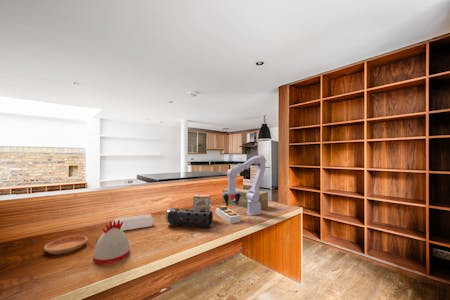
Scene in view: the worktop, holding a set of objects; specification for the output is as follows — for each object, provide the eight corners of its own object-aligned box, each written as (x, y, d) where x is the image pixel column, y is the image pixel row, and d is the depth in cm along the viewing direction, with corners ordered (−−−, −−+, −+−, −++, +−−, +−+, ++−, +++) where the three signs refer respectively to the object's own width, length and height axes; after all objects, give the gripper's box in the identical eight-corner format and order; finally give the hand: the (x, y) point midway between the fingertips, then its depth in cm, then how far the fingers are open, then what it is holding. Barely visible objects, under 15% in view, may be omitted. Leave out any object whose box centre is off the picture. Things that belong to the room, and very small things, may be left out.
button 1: (224, 209, 148) (224, 205, 148) (227, 210, 144) (227, 206, 144) (219, 210, 146) (219, 205, 146) (221, 211, 142) (221, 207, 142)
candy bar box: (192, 220, 132) (192, 196, 132) (194, 218, 137) (194, 194, 137) (209, 221, 131) (209, 196, 131) (210, 218, 136) (210, 195, 136)
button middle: (228, 213, 142) (228, 209, 142) (231, 215, 138) (231, 210, 138) (223, 214, 140) (223, 210, 140) (226, 216, 136) (226, 211, 136)
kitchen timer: (134, 254, 87) (135, 220, 87) (99, 267, 77) (99, 229, 77) (122, 245, 96) (122, 214, 97) (89, 255, 86) (89, 221, 86)
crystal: (152, 216, 130) (110, 221, 118) (154, 213, 124) (110, 218, 113) (153, 227, 126) (110, 234, 115) (155, 225, 121) (110, 232, 110)
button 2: (233, 216, 135) (233, 211, 135) (236, 218, 131) (236, 213, 132) (227, 217, 133) (227, 212, 134) (230, 219, 130) (230, 214, 130)
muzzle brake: (208, 231, 114) (208, 213, 115) (164, 227, 120) (164, 210, 120) (212, 225, 124) (213, 208, 124) (171, 222, 129) (171, 206, 129)
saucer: (81, 238, 104) (82, 232, 105) (92, 247, 94) (92, 241, 94) (41, 249, 92) (41, 243, 92) (47, 261, 82) (48, 253, 82)
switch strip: (225, 212, 151) (225, 207, 151) (240, 221, 130) (240, 215, 130) (215, 213, 148) (215, 208, 148) (230, 223, 126) (230, 217, 126)
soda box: (268, 207, 167) (268, 191, 168) (260, 210, 157) (260, 194, 157) (230, 200, 193) (230, 187, 193) (221, 202, 182) (221, 188, 182)
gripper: (225, 187, 134) (225, 207, 134) (243, 185, 140) (243, 205, 140) (220, 185, 140) (220, 205, 140) (238, 184, 147) (238, 202, 146)
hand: (231, 204), depth 140 cm, fingers open, 7 cm apart
